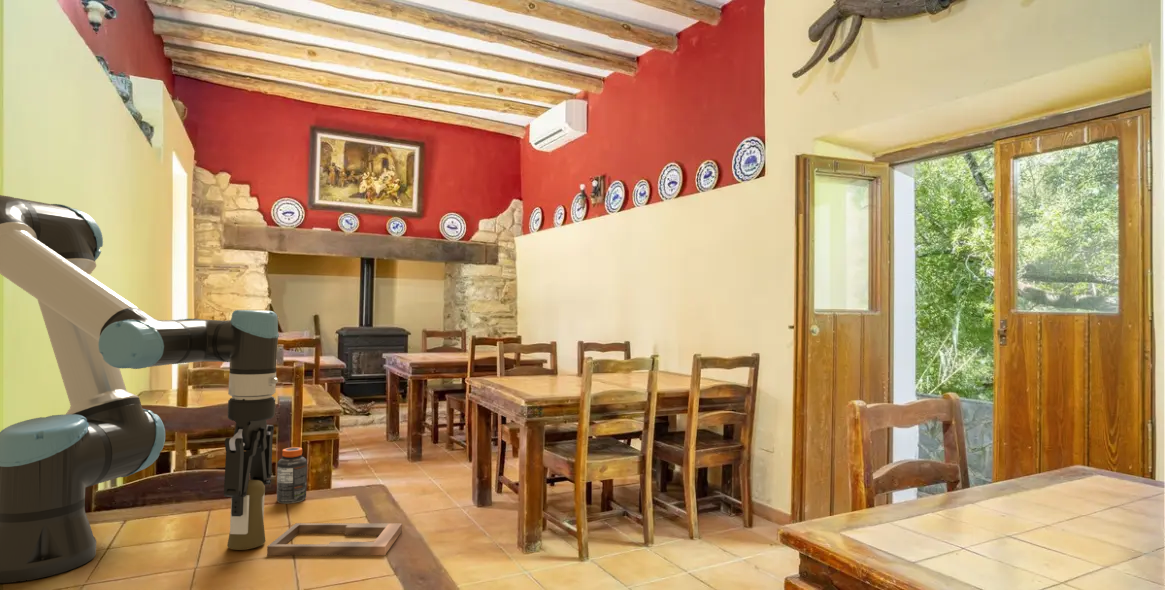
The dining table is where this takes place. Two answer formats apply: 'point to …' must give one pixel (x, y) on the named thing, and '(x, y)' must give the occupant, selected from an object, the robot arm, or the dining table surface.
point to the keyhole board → (378, 547)
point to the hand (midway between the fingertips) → (247, 527)
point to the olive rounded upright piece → (251, 520)
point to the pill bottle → (291, 476)
